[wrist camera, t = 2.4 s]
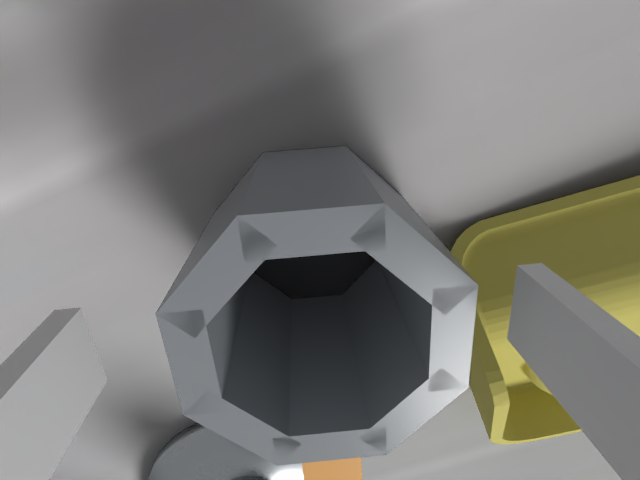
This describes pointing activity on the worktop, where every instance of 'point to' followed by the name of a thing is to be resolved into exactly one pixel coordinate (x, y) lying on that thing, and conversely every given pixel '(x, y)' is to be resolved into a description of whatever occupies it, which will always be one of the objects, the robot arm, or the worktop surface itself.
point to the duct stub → (215, 460)
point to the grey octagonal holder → (318, 318)
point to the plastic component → (567, 262)
